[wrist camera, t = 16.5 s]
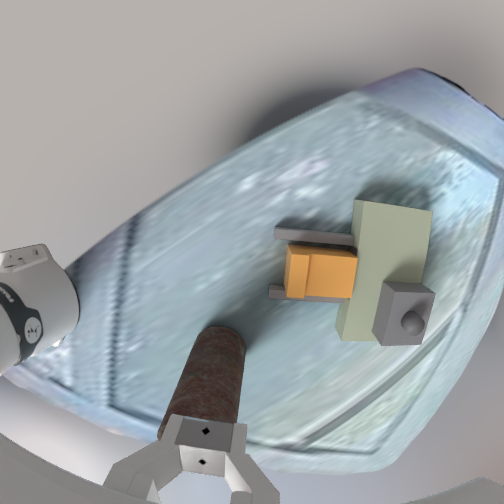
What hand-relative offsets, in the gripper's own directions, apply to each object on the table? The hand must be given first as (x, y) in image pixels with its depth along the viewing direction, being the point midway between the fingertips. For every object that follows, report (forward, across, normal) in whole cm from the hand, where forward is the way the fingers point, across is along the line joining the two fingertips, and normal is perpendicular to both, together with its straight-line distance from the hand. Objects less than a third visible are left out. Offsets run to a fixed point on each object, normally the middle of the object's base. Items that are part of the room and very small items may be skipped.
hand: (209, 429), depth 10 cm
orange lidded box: (+29, -9, 0) cm, 31 cm away
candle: (+29, +3, +13) cm, 32 cm away
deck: (+29, -13, 0) cm, 32 cm away
